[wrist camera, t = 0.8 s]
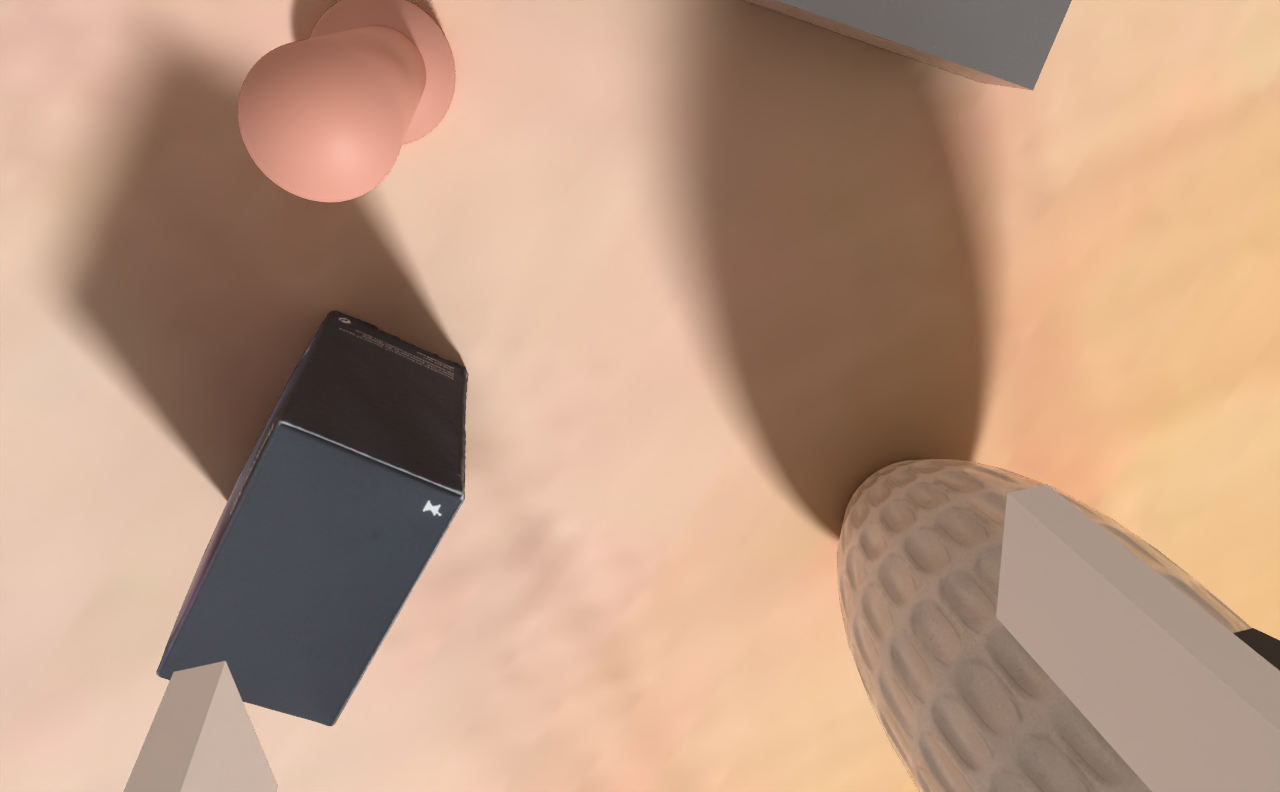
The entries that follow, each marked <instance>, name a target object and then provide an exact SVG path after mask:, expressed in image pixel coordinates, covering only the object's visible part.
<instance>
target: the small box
mask: <svg viewBox="0 0 1280 792" xmlns="http://www.w3.org/2000/svg"><path fill="white" fill-rule="evenodd" d="M467 381H468V373H467V370H466V368H465V367H461V366H460V365H459V364H457V363H454V362H451V361H446V360H443V359H441V358H439V357H438V356H437V355H435V354H430V353H428V352H426V351H424V350H422V349H420V348H417V347H416V346H414V345H410V344H408V343H406V342H404V341H402V340H400V339H398V338H397V337H395V336H391V335H389V334H387V333H385V332H383V331H380V330H378V328H377V327H375V326H374V325H370V324H368V323H366V322H363V321H361V320H358V319H355V318H352V317H349V316H346V315H344V314H342V313H340V312H337V311H331V312H330V313H329V314H328V315H327V317H326V318H325V320H324V322H323V323H322V325H321V326H320V328H319V330H318V331H317V333H316V334H315V336H314V338H313V339H312V341H311V343H310V344H309V346H308V348H307V349H306V351H305V352H304V354H303V356H302V357H301V359H300V361H299V363H298V365H297V367H296V368H295V370H294V372H293V374H292V376H291V378H290V380H289V382H288V383H287V385H286V387H285V389H284V391H283V393H282V395H281V397H280V399H279V401H278V403H277V405H276V407H275V409H274V410H273V412H272V414H271V416H270V418H269V420H268V422H267V424H266V426H265V428H264V430H263V432H262V434H261V436H260V438H259V439H258V441H257V443H256V445H255V447H254V449H253V451H252V453H251V455H250V457H249V459H248V461H247V463H246V464H245V466H244V468H243V470H242V472H241V474H240V476H239V478H238V480H237V482H236V484H235V487H234V489H233V491H232V493H231V495H230V497H229V500H228V502H227V504H226V506H225V508H224V511H223V513H222V515H221V517H220V519H219V521H218V524H217V526H216V528H215V531H214V533H213V535H212V537H211V539H210V542H209V544H208V546H207V548H206V550H205V552H204V555H203V557H202V559H201V562H200V564H199V566H198V569H197V571H196V574H195V576H194V578H193V581H192V583H191V585H190V588H189V590H188V593H187V595H186V597H185V600H184V602H183V605H182V607H181V610H180V612H179V615H178V617H177V620H176V622H175V625H174V628H173V630H172V633H171V635H170V638H169V640H168V643H167V645H166V648H165V651H164V654H163V657H162V660H161V662H160V665H159V667H158V669H157V675H158V676H159V677H162V678H165V679H168V680H170V679H171V677H172V675H173V672H176V671H180V670H185V669H190V668H194V667H199V666H204V665H208V664H213V663H218V662H222V661H226V663H227V665H228V668H229V670H230V672H231V675H232V677H233V680H234V682H235V684H236V687H237V689H238V692H239V694H240V696H241V699H242V701H243V702H247V703H251V704H254V705H258V706H261V707H264V708H268V709H272V710H276V711H279V712H282V713H286V714H290V715H293V716H297V717H301V718H305V719H308V720H312V721H315V722H318V723H321V724H324V725H327V726H333V725H334V724H335V723H336V721H337V719H338V717H339V716H340V714H341V712H342V711H343V709H344V707H345V706H346V704H347V702H348V700H349V699H350V697H351V695H352V693H353V692H354V690H355V688H356V687H357V685H358V683H359V682H360V680H361V678H362V676H363V675H364V673H365V671H366V669H367V667H368V666H369V664H370V663H371V661H372V659H373V657H374V656H375V654H376V652H377V650H378V649H379V647H380V645H381V643H382V642H383V640H384V638H385V637H386V635H387V633H388V632H389V630H390V628H391V627H392V625H393V623H394V621H395V619H396V618H397V616H398V614H399V613H400V611H401V609H402V607H403V605H404V603H405V602H406V600H407V599H408V597H409V595H410V593H411V591H412V589H413V587H414V586H415V584H416V583H417V581H418V579H419V578H420V576H421V574H422V573H423V571H424V569H425V567H426V565H427V564H428V562H429V560H430V559H431V557H432V555H433V554H434V552H435V550H436V548H437V547H438V545H439V543H440V541H441V539H442V538H443V536H444V534H445V532H446V531H447V529H448V528H449V525H450V523H451V522H452V520H453V518H454V517H455V515H456V513H457V511H458V510H459V508H460V506H461V505H462V503H463V501H464V499H465V492H464V489H465V452H466V451H465V445H466V441H465V438H466V432H465V416H466V415H465V411H466V392H467Z"/></svg>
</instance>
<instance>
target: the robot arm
mask: <svg viewBox="0 0 1280 792" xmlns="http://www.w3.org/2000/svg"><path fill="white" fill-rule="evenodd" d="M996 617H997V619H998V620H999V621H1000V622H1001V623H1002V624H1003V625H1004V626H1005V627H1006V629H1007V630H1008V631H1009V632H1010V633H1011V634H1012V635H1013V636H1014V638H1015V639H1016V640H1017V641H1018V642H1019V643H1020V644H1021V645H1022V647H1023V648H1024V649H1025V650H1026V651H1027V652H1028V653H1029V654H1030V656H1031V657H1032V658H1033V659H1034V660H1035V661H1036V662H1037V663H1038V665H1039V666H1040V667H1041V668H1042V669H1043V670H1044V671H1045V672H1046V673H1047V675H1048V676H1049V677H1050V678H1051V679H1052V680H1053V681H1054V682H1055V684H1056V685H1057V686H1058V687H1059V688H1060V689H1061V690H1062V691H1063V693H1064V694H1065V695H1066V696H1067V697H1068V698H1069V699H1070V700H1071V702H1072V703H1073V704H1074V705H1075V706H1076V707H1077V708H1078V709H1079V710H1080V712H1081V713H1082V714H1083V715H1084V716H1085V717H1086V718H1087V719H1088V721H1089V722H1090V723H1091V724H1092V725H1093V726H1094V727H1095V728H1096V730H1097V731H1098V732H1099V733H1100V734H1101V735H1102V736H1103V737H1104V739H1105V740H1106V741H1107V742H1108V743H1109V744H1110V745H1111V746H1112V747H1113V749H1114V750H1115V751H1116V752H1117V753H1118V754H1119V755H1120V756H1121V758H1122V759H1123V760H1124V761H1125V762H1126V763H1127V764H1128V765H1129V767H1130V768H1131V769H1132V770H1133V771H1134V772H1135V773H1136V774H1137V776H1138V777H1139V778H1140V779H1141V780H1142V781H1143V782H1144V783H1145V785H1146V786H1147V787H1148V788H1149V789H1150V790H1151V791H1152V792H1280V641H1279V640H1277V639H1275V638H1273V637H1271V636H1269V635H1267V634H1265V633H1263V632H1260V631H1258V630H1256V629H1254V628H1251V629H1247V630H1243V631H1239V632H1235V633H1232V632H1231V631H1229V630H1228V629H1227V628H1226V627H1224V626H1223V625H1222V624H1221V623H1219V622H1218V621H1217V620H1216V619H1214V618H1213V617H1212V616H1211V615H1209V614H1208V613H1207V612H1206V611H1205V610H1203V609H1202V608H1201V607H1200V606H1198V605H1197V604H1196V603H1195V602H1193V601H1192V600H1191V599H1190V598H1188V597H1187V596H1186V595H1185V594H1183V593H1182V592H1181V591H1180V590H1178V589H1177V588H1176V587H1175V586H1173V585H1172V584H1171V583H1170V582H1168V581H1167V580H1166V579H1165V578H1163V577H1162V576H1161V575H1160V574H1158V573H1157V572H1156V571H1155V570H1153V569H1152V568H1151V567H1150V566H1148V565H1147V564H1146V563H1145V562H1143V561H1142V560H1141V559H1140V558H1138V557H1137V556H1136V555H1135V554H1133V553H1132V552H1131V551H1130V550H1128V549H1127V548H1126V547H1125V546H1123V545H1122V544H1121V543H1120V542H1119V541H1117V540H1116V539H1115V538H1114V537H1112V536H1111V535H1110V534H1109V533H1107V532H1106V531H1105V530H1104V529H1102V528H1101V527H1100V526H1099V525H1097V524H1096V523H1095V522H1094V521H1092V520H1091V519H1090V518H1089V517H1087V516H1086V515H1085V514H1084V513H1082V512H1081V511H1080V510H1079V509H1077V508H1076V507H1075V506H1074V505H1072V504H1071V503H1070V502H1069V501H1067V500H1066V499H1065V498H1064V497H1062V496H1061V495H1060V494H1059V493H1057V492H1056V491H1055V490H1054V489H1052V488H1051V487H1050V486H1049V485H1047V484H1046V485H1042V486H1037V487H1032V488H1028V489H1023V490H1018V491H1014V492H1009V493H1007V500H1006V511H1005V522H1004V533H1003V544H1002V556H1001V567H1000V578H999V589H998V600H997V611H996ZM277 787H278V785H277V782H276V780H275V778H274V775H273V773H272V770H271V768H270V766H269V763H268V761H267V759H266V756H265V754H264V751H263V749H262V747H261V744H260V742H259V739H258V737H257V735H256V732H255V730H254V727H253V725H252V723H251V720H250V718H249V715H248V713H247V711H246V708H245V706H244V704H243V701H242V699H241V696H240V694H239V692H238V689H237V687H236V684H235V682H234V680H233V677H232V675H231V672H230V670H229V668H228V665H227V663H226V661H222V662H218V663H213V664H208V665H204V666H199V667H194V668H190V669H185V670H180V671H176V672H173V675H172V677H171V679H170V682H169V684H168V687H167V689H166V691H165V694H164V696H163V699H162V701H161V703H160V706H159V708H158V711H157V713H156V715H155V718H154V720H153V722H152V725H151V727H150V730H149V732H148V734H147V737H146V739H145V742H144V744H143V746H142V749H141V751H140V754H139V756H138V758H137V761H136V763H135V766H134V768H133V770H132V773H131V775H130V778H129V780H128V782H127V785H126V787H125V789H124V792H277Z"/></svg>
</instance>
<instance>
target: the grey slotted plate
mask: <svg viewBox="0 0 1280 792" xmlns="http://www.w3.org/2000/svg"><path fill="white" fill-rule="evenodd" d="M745 1H748V2H750V3H753V4H756V5H759V6H762V7H765V8H768V9H771V10H773V11H776V12H779V13H782V14H785V15H788V16H791V17H794V18H797V19H799V20H802V21H805V22H808V23H811V24H814V25H817V26H820V27H823V28H825V29H828V30H831V31H834V32H837V33H840V34H843V35H846V36H848V37H851V38H854V39H857V40H860V41H863V42H866V43H869V44H872V45H874V46H877V47H880V48H883V49H886V50H889V51H892V52H895V53H897V54H900V55H903V56H906V57H909V58H912V59H915V60H918V61H921V62H923V63H926V64H929V65H932V66H935V67H938V68H941V69H944V70H946V71H949V72H952V73H955V74H958V75H961V76H964V77H967V78H970V79H972V80H975V81H978V82H981V83H987V84H994V85H1001V86H1008V87H1014V88H1021V89H1028V90H1033V89H1034V87H1035V84H1036V82H1037V80H1038V77H1039V75H1040V73H1041V70H1042V68H1043V66H1044V63H1045V61H1046V59H1047V56H1048V54H1049V52H1050V49H1051V47H1052V45H1053V42H1054V40H1055V38H1056V35H1057V33H1058V31H1059V28H1060V26H1061V24H1062V21H1063V19H1064V17H1065V14H1066V12H1067V10H1068V8H1069V5H1070V3H1071V1H1072V0H745Z"/></svg>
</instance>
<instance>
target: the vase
mask: <svg viewBox="0 0 1280 792" xmlns="http://www.w3.org/2000/svg"><path fill="white" fill-rule="evenodd" d="M1042 485H1046V484H1043V483H1041V482H1038V481H1035V480H1033V479H1030V478H1027V477H1024V476H1022V475H1019V474H1016V473H1014V472H1010V471H1007V470H1004V469H1001V468H998V467H993V466H989V465H984V464H979V463H975V462H970V461H964V460H957V459H921V460H906V461H900V462H897V463H893V464H890V465H888V466H886V467H884V468H881V469H880V470H878V471H877V472H875V473H873V474H872V475H871V476H870V477H868V478H867V479H866V480H865V481H864V482H863V483H862V484H861V485H860V486H859V487H858V488H857V490H856V491H855V492H854V494H853V495H852V497H851V499H850V501H849V503H848V505H847V508H846V511H845V515H844V519H843V524H842V529H841V533H840V539H839V545H838V551H837V576H838V593H839V600H840V606H841V611H842V616H843V621H844V625H845V630H846V635H847V639H848V644H849V647H850V650H851V653H852V655H853V658H854V661H855V663H856V666H857V669H858V671H859V674H860V676H861V679H862V682H863V684H864V687H865V690H866V692H867V695H868V697H869V700H870V702H871V704H872V706H873V709H874V711H875V713H876V715H877V717H878V719H879V721H880V723H881V725H882V727H883V729H884V731H885V733H886V735H887V737H888V739H889V741H890V743H891V745H892V747H893V748H894V750H895V752H896V753H897V755H898V757H899V758H900V760H901V762H902V763H903V765H904V767H905V768H906V770H907V772H908V773H909V775H910V777H911V779H912V780H913V782H914V784H915V785H916V787H917V789H918V790H919V792H1152V791H1151V790H1150V789H1149V788H1148V787H1147V786H1146V785H1145V783H1144V782H1143V781H1142V780H1141V779H1140V778H1139V777H1138V776H1137V774H1136V773H1135V772H1134V771H1133V770H1132V769H1131V768H1130V767H1129V765H1128V764H1127V763H1126V762H1125V761H1124V760H1123V759H1122V758H1121V756H1120V755H1119V754H1118V753H1117V752H1116V751H1115V750H1114V749H1113V747H1112V746H1111V745H1110V744H1109V743H1108V742H1107V741H1106V740H1105V739H1104V737H1103V736H1102V735H1101V734H1100V733H1099V732H1098V731H1097V730H1096V728H1095V727H1094V726H1093V725H1092V724H1091V723H1090V722H1089V721H1088V719H1087V718H1086V717H1085V716H1084V715H1083V714H1082V713H1081V712H1080V710H1079V709H1078V708H1077V707H1076V706H1075V705H1074V704H1073V703H1072V702H1071V700H1070V699H1069V698H1068V697H1067V696H1066V695H1065V694H1064V693H1063V691H1062V690H1061V689H1060V688H1059V687H1058V686H1057V685H1056V684H1055V682H1054V681H1053V680H1052V679H1051V678H1050V677H1049V676H1048V675H1047V673H1046V672H1045V671H1044V670H1043V669H1042V668H1041V667H1040V666H1039V665H1038V663H1037V662H1036V661H1035V660H1034V659H1033V658H1032V657H1031V656H1030V654H1029V653H1028V652H1027V651H1026V650H1025V649H1024V648H1023V647H1022V645H1021V644H1020V643H1019V642H1018V641H1017V640H1016V639H1015V638H1014V636H1013V635H1012V634H1011V633H1010V632H1009V631H1008V630H1007V629H1006V627H1005V626H1004V625H1003V624H1002V623H1001V622H1000V621H999V620H998V619H997V617H996V611H997V600H998V589H999V578H1000V567H1001V556H1002V544H1003V533H1004V522H1005V511H1006V500H1007V493H1009V492H1014V491H1018V490H1023V489H1028V488H1032V487H1037V486H1042ZM1050 487H1051V488H1052V489H1054V490H1055V491H1056V492H1057V493H1059V494H1060V495H1061V496H1062V497H1064V498H1065V499H1066V500H1067V501H1069V502H1070V503H1071V504H1072V505H1074V506H1075V507H1076V508H1077V509H1079V510H1080V511H1081V512H1082V513H1084V514H1085V515H1086V516H1087V517H1089V518H1090V519H1091V520H1092V521H1094V522H1095V523H1096V524H1097V525H1099V526H1100V527H1101V528H1102V529H1104V530H1105V531H1106V532H1107V533H1109V534H1110V535H1111V536H1112V537H1114V538H1115V539H1116V540H1117V541H1119V542H1120V543H1121V544H1122V545H1123V546H1125V547H1126V548H1127V549H1128V550H1130V551H1131V552H1132V553H1133V554H1135V555H1136V556H1137V557H1138V558H1140V559H1141V560H1142V561H1143V562H1145V563H1146V564H1147V565H1148V566H1150V567H1151V568H1152V569H1153V570H1155V571H1156V572H1157V573H1158V574H1160V575H1161V576H1162V577H1163V578H1165V579H1166V580H1167V581H1168V582H1170V583H1171V584H1172V585H1173V586H1175V587H1176V588H1177V589H1178V590H1180V591H1181V592H1182V593H1183V594H1185V595H1186V596H1187V597H1188V598H1190V599H1191V600H1192V601H1193V602H1195V603H1196V604H1197V605H1198V606H1200V607H1201V608H1202V609H1203V610H1205V611H1206V612H1207V613H1208V614H1209V615H1211V616H1212V617H1213V618H1214V619H1216V620H1217V621H1218V622H1219V623H1221V624H1222V625H1223V626H1224V627H1226V628H1227V629H1228V630H1229V631H1231V632H1232V633H1235V632H1239V631H1243V630H1247V629H1251V627H1250V626H1249V625H1248V624H1247V623H1246V622H1245V621H1243V620H1242V619H1241V618H1240V617H1239V616H1238V615H1236V614H1235V613H1234V612H1233V611H1232V610H1231V609H1230V608H1228V607H1227V606H1226V605H1225V604H1224V603H1223V602H1222V601H1220V600H1219V599H1218V598H1217V597H1216V596H1215V595H1213V594H1212V593H1211V592H1210V591H1209V590H1208V589H1207V588H1205V587H1204V586H1203V585H1202V584H1201V583H1199V582H1198V581H1197V580H1195V579H1194V578H1193V577H1192V576H1190V575H1189V574H1188V573H1187V572H1185V571H1184V570H1183V569H1181V568H1180V567H1179V566H1178V565H1176V564H1175V563H1174V562H1172V561H1171V560H1170V559H1169V558H1167V557H1166V556H1165V555H1164V554H1162V553H1161V552H1160V551H1158V550H1157V549H1156V548H1154V547H1153V546H1151V545H1150V544H1148V543H1147V542H1145V541H1144V540H1143V539H1141V538H1140V537H1138V536H1137V535H1135V534H1134V533H1132V532H1131V531H1129V530H1128V529H1126V528H1125V527H1123V526H1122V525H1120V524H1119V523H1117V522H1116V521H1114V520H1113V519H1111V518H1109V517H1107V516H1106V515H1104V514H1102V513H1100V512H1099V511H1097V510H1095V509H1093V508H1091V507H1089V506H1088V505H1086V504H1084V503H1082V502H1080V501H1078V500H1076V499H1075V498H1073V497H1071V496H1069V495H1067V494H1065V493H1063V492H1062V491H1060V490H1058V489H1056V488H1054V487H1052V486H1050Z"/></svg>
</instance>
